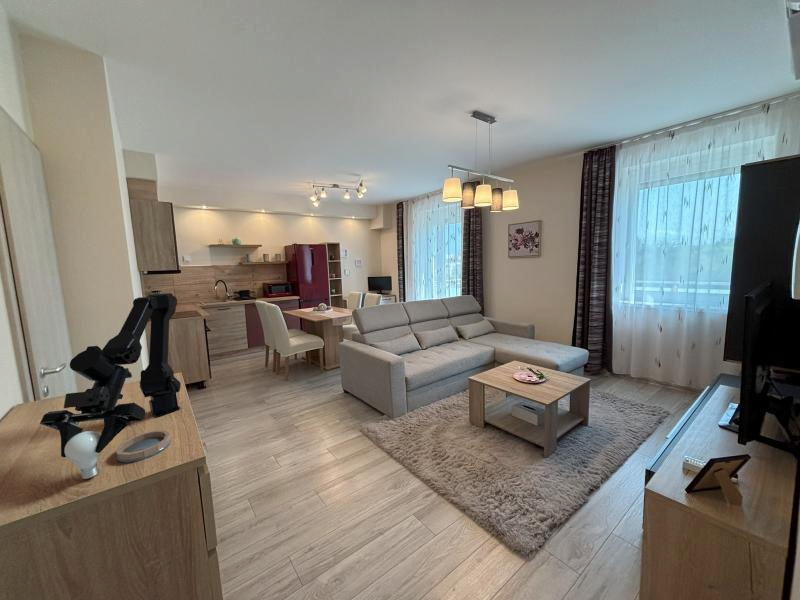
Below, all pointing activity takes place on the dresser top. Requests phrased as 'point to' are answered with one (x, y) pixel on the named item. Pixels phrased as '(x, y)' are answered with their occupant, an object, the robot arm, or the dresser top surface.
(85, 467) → the lightbulb
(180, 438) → the dresser top surface
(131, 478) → the dresser top surface
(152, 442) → the round dish
